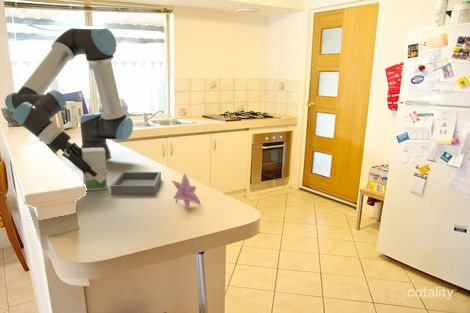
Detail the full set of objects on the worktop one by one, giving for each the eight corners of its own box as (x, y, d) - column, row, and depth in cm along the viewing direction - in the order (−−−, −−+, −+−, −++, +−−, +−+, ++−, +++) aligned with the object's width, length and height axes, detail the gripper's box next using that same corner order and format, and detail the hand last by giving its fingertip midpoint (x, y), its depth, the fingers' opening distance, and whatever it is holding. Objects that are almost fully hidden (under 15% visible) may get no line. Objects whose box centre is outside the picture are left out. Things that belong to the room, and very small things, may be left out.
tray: (122, 179, 144) (122, 171, 143) (161, 179, 145) (160, 172, 144) (111, 194, 126) (110, 185, 126) (154, 194, 128) (154, 185, 127)
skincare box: (84, 191, 129) (81, 151, 125) (83, 186, 134) (80, 148, 131) (108, 188, 133) (105, 150, 129) (106, 183, 138) (103, 146, 134)
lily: (168, 215, 113) (180, 193, 109) (158, 192, 121) (169, 171, 117) (197, 217, 120) (210, 197, 117) (186, 195, 128) (198, 176, 125)
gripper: (54, 139, 135) (100, 176, 143) (39, 151, 116) (94, 193, 124) (68, 126, 135) (113, 163, 143) (55, 135, 116) (108, 178, 124)
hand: (104, 177), depth 133 cm, fingers closed on skincare box, 7 cm apart
